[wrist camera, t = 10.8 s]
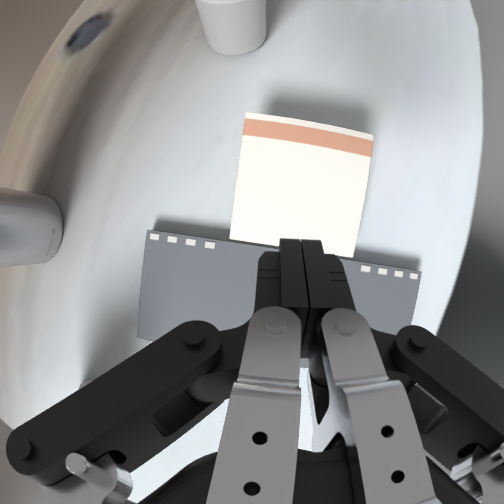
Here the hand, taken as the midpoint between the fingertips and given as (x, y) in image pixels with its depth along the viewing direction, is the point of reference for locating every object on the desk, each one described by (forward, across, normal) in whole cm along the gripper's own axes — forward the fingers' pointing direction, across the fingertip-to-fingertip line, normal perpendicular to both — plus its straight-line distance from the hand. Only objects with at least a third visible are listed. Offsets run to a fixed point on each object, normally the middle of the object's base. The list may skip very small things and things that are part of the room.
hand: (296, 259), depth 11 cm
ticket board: (+13, -1, +15) cm, 20 cm away
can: (+31, +6, -12) cm, 34 cm away
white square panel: (+15, -1, +10) cm, 18 cm away
